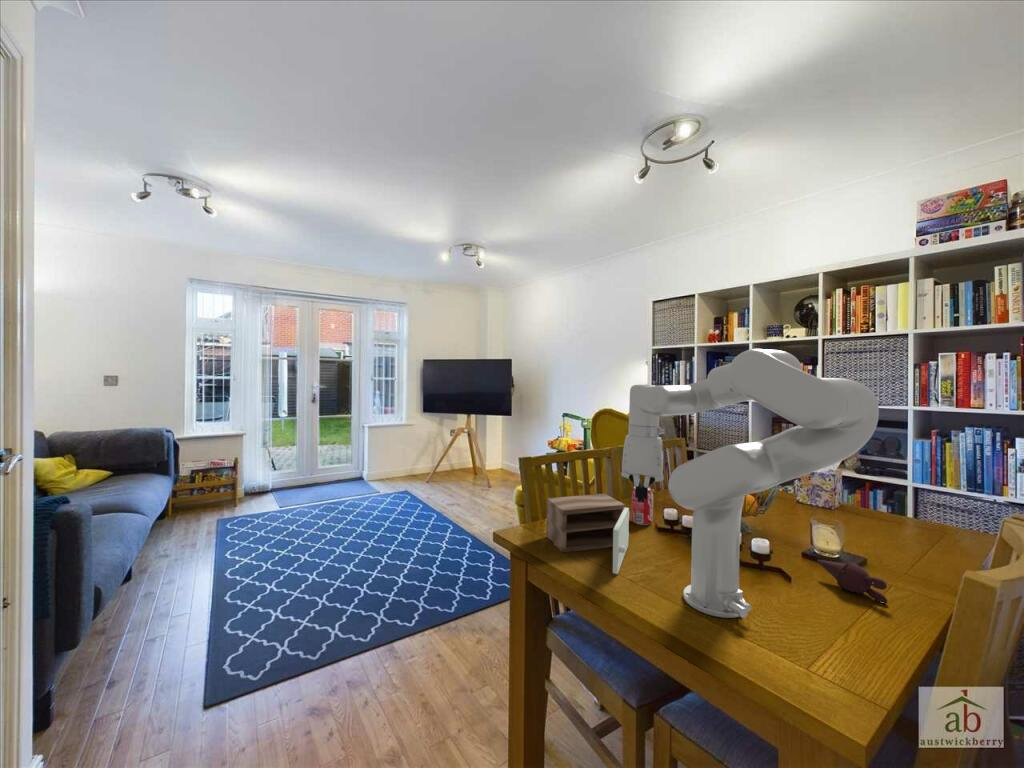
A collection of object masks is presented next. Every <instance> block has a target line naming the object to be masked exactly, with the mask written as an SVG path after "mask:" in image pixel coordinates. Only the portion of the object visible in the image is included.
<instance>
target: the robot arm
mask: <svg viewBox="0 0 1024 768" xmlns="http://www.w3.org/2000/svg"><path fill="white" fill-rule="evenodd" d="M706 377H707V378H706V379H704V380H700V381H695V382H693V383H689V384H668V385H667V384H666V385H664V384H662V385H654V384H633V385H632V386H631V387H630V388H629V406H628V407H629V409H628V410H629V411H628V414H629V415H628V434H626V435H625V438H624V439H625V440H624V443H623V444H624V445H623V451H622V460H621V461H622V462H621V469H622V470H621V473H620V476H621V477H623V478H626V479H629V481H631V482H632V484H634V486H636V490H635V497H636V498H638V502H643V503H644V501H645V499H647V498H648V487H650V485H652V484H653V483H655V482H663V481H664V478H665V477H664V473H663V471H664V446H663V438H662V437H661V436H660V435H665V432H666V431H665V428H662V427H660V417H672V416H687V415H692V414H698V413H702V412H706V411H707V412H708V411H711V410H716V409H719V408H722V407H723V408H724V407H728V406H731V405H735V404H739V403H743V402H748V401H754V402H755V403H756V404H759V405H761V406H762V407H764V408H766V409H767V410H770V411H771V412H773V413H775V414H777V416H780V417H782V418H784V419H785V420H787V421H789V422H791V423H792V424H795V426H793V427H790V428H788V429H785V430H782V431H781V432H779V433H776V434H775V435H774V434H773V435H772V436H769V437H767V438H764V439H762V440H758V441H752V442H751V441H750V442H743V443H734V444H729V445H728V444H727V445H724V446H721V447H719V448H716V449H714V450H712V451H709V452H706V453H704V454H702V455H699V456H697V457H695V458H694V459H693V458H692V459H691V460H687V461H686V462H685V463H682V464H680V465H677V467H675V469H674V470H672V472H671V473H670V475H669V479H668V482H667V484H668V486H667V487H668V488H667V489H668V492H669V495H670V497H671V498H672V500H673V501H674V502H675V503H676V504H677V505H679V506H680V507H682V508H684V509H686V510H690V511H693V514H692V520H691V521H692V526H691V558H690V559H691V563H690V564H691V565H690V567H691V568H690V570H691V571H690V584H688V585H687V586H686V587H684V589H683V599H684V601H685V602H686V603H687V604H688V605H689V606H691V608H693V609H695V610H697V611H699V612H701V613H704V614H705V615H709V616H713V617H717V618H722V619H724V618H725V619H731V618H732V619H733V618H739V617H741V618H742V619H746V617H747V616H748V613H749V612H750V611H752V605H751V604H750V603H748V602H746V600H745V599H744V598H743V596H744V595H743V593H744V592H743V590H741V589H740V548H741V547H740V544H741V543H740V542H741V541H740V539H741V523H742V522H741V520H742V511H743V506H744V502H745V497H746V496H747V495H751V494H755V493H761V492H763V491H767V490H769V489H772V488H774V487H776V486H778V485H780V484H783V483H786V482H789V481H792V480H795V479H797V478H800V477H804V476H807V475H808V474H811V473H814V472H818V471H820V470H822V469H826V468H828V467H831V466H833V465H836V464H838V463H840V462H842V461H844V460H846V459H848V458H849V457H851V456H853V455H854V454H855V453H857V452H858V451H859V450H861V449H862V448H863V447H864V446H865V445H866V444H867V443H868V442H869V441H870V439H871V438H872V436H873V435H874V433H875V431H876V430H877V426H878V423H879V416H880V410H879V409H880V408H879V402H878V400H877V397H876V395H875V393H874V392H873V391H872V389H870V388H869V387H868V386H866V384H863V383H861V382H859V381H856V380H853V379H850V378H849V379H848V378H841V377H840V378H839V377H837V378H836V377H835V378H834V377H817V376H815V375H813V374H810V373H808V372H806V371H804V370H803V367H802V364H801V362H800V361H799V359H798V358H797V357H796V356H795V355H793V354H792V353H790V352H787V351H785V350H784V351H783V350H780V349H779V350H778V349H767V348H766V349H763V348H752V349H747V350H745V351H742V352H741V353H739V354H738V355H736V356H735V357H734V358H733V360H732V361H731V362H730V363H727V364H723V365H720V366H717V367H715V368H714V367H713V368H712V369H711V370H709V372H708V374H707V376H706ZM640 476H644V480H643V481H644V482H643V483H642V482H641V478H640Z"/></svg>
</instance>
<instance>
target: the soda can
mask: <svg viewBox="0 0 1024 768" xmlns="http://www.w3.org/2000/svg"><path fill="white" fill-rule="evenodd" d="M635 490H636V486H635V485H634V486H633V489H632V491H631V497H630V498H631V501H630V503H631V504H630V505H631V506H630V508H631V509H630V514H631V515H630V517H631V521H632V522H633V523H634V524H636V525H638V526H649V525H651V524H652V523H653V520H654V519H653V517H654V493H653V492H652V488H651V487H650V486H648V498H647V499H645V501H644V503H643V502H638V498H636V497H635Z"/></svg>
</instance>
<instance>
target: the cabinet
mask: <svg viewBox="0 0 1024 768" xmlns="http://www.w3.org/2000/svg"><path fill="white" fill-rule="evenodd" d="M624 508H626V504H624V503H623V502H621V501H619V500H617V499H615V498H614V497H612V496H610V495H608V494H606V493H596V494H583V495H572V496H571V495H570V496H559V497H549V498H546V535H545V537H546V536H547V537H548V538H549V539H550V540H551V541H552V542H553V543H554V544H555V545H556V546H557V547H558V548H559V549H560V550H561V551H562V552H565V553H571V552H570V551H573V552H578V551H579V550H580V551H589V550H596V549H602V548H603V549H604V548H613V529H614V527H615V525H616V523H617V521H618V520H619V518H620V516H621V514H622V512H623V510H624ZM547 537H546V538H547ZM548 538H547V539H548ZM549 539H548V540H549ZM550 540H549V541H550ZM551 541H550V542H551ZM552 542H551V543H552ZM553 543H552V544H553ZM554 544H553V545H554ZM555 545H554V546H555ZM556 546H555V547H556ZM557 547H556V548H557ZM558 548H557V549H558ZM559 549H558V550H559ZM560 550H559V551H560ZM561 551H560V552H561ZM568 551H569V552H568ZM562 552H561V553H562Z"/></svg>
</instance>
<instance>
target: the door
mask: <svg viewBox="0 0 1024 768" xmlns="http://www.w3.org/2000/svg"><path fill="white" fill-rule="evenodd" d="M629 521H630V508H629V507H625V508H624V510H623V512H622V514H621V516H620V518H619V520H618V521H617V523H616V525H615V527H614V529H613V547H612V574H614V575H618V574H619V571H620V568H621V565H622V563H623V560H624V558H625V555H626V552H627V549H628V547H629V541H630V540H629V539H630V532H629V527H630V526H629V523H630V522H629Z"/></svg>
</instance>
